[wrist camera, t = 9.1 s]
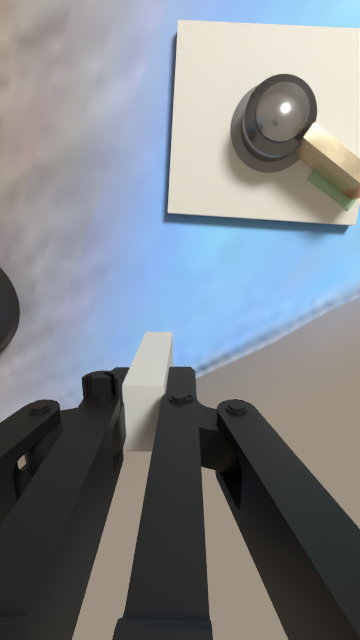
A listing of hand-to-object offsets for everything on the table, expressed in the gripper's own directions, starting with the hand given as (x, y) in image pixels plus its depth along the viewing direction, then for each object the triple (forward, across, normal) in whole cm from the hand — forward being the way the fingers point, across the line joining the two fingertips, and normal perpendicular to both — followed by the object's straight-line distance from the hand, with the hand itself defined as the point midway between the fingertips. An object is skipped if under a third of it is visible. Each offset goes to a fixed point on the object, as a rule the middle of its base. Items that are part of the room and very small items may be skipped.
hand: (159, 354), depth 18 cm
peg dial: (+21, +14, +16) cm, 30 cm away
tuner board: (+23, +11, +18) cm, 31 cm away
